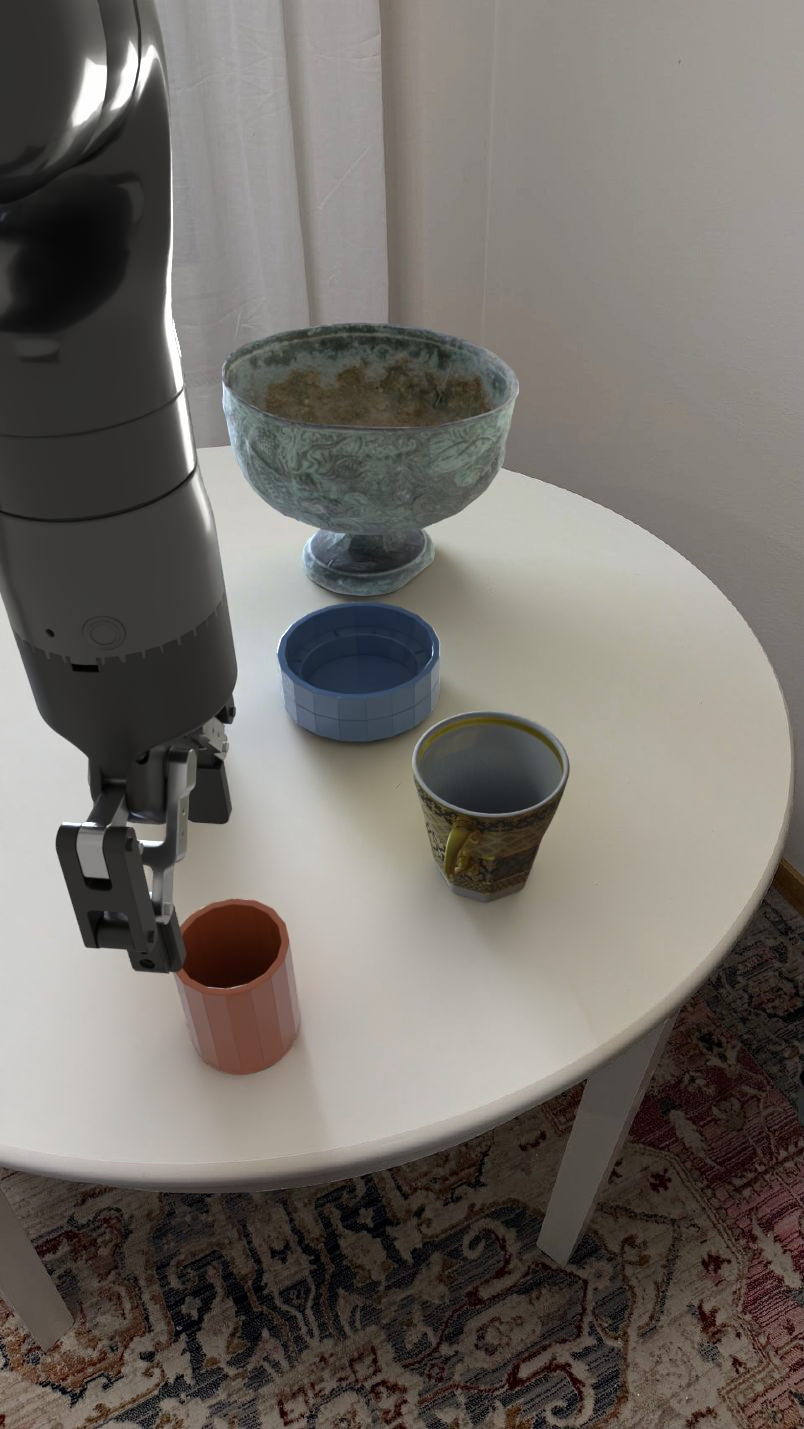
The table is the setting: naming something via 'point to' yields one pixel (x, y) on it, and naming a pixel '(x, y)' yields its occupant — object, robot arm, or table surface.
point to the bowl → (359, 671)
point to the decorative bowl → (367, 440)
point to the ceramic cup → (488, 798)
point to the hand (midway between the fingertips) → (186, 886)
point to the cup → (238, 986)
